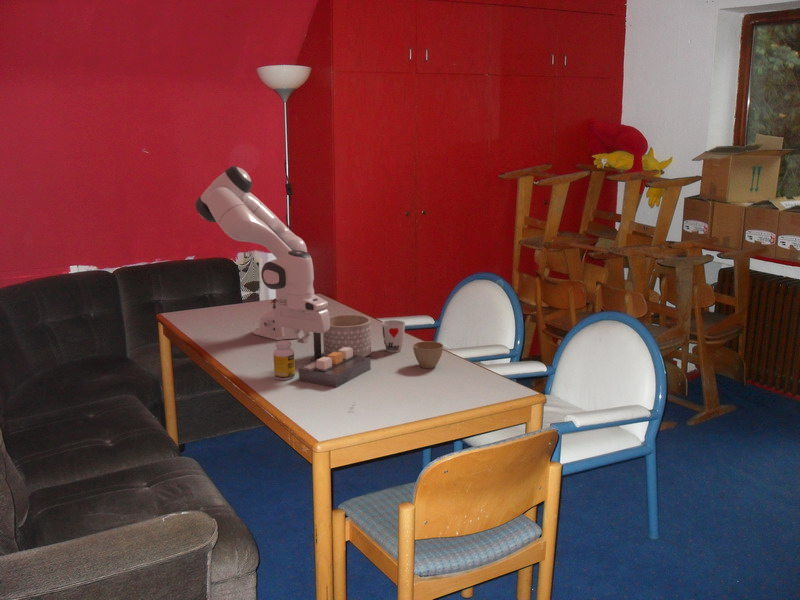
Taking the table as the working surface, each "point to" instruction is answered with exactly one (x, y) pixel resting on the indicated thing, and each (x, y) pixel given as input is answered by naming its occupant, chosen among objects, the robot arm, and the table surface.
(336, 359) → the orange block
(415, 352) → the flower pot
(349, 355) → the pale pink brick
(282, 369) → the pill bottle
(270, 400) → the table surface
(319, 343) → the post
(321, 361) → the light pink block
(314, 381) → the dark grey slotted tray
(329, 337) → the planter
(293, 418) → the table surface
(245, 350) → the table surface
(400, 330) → the cup
